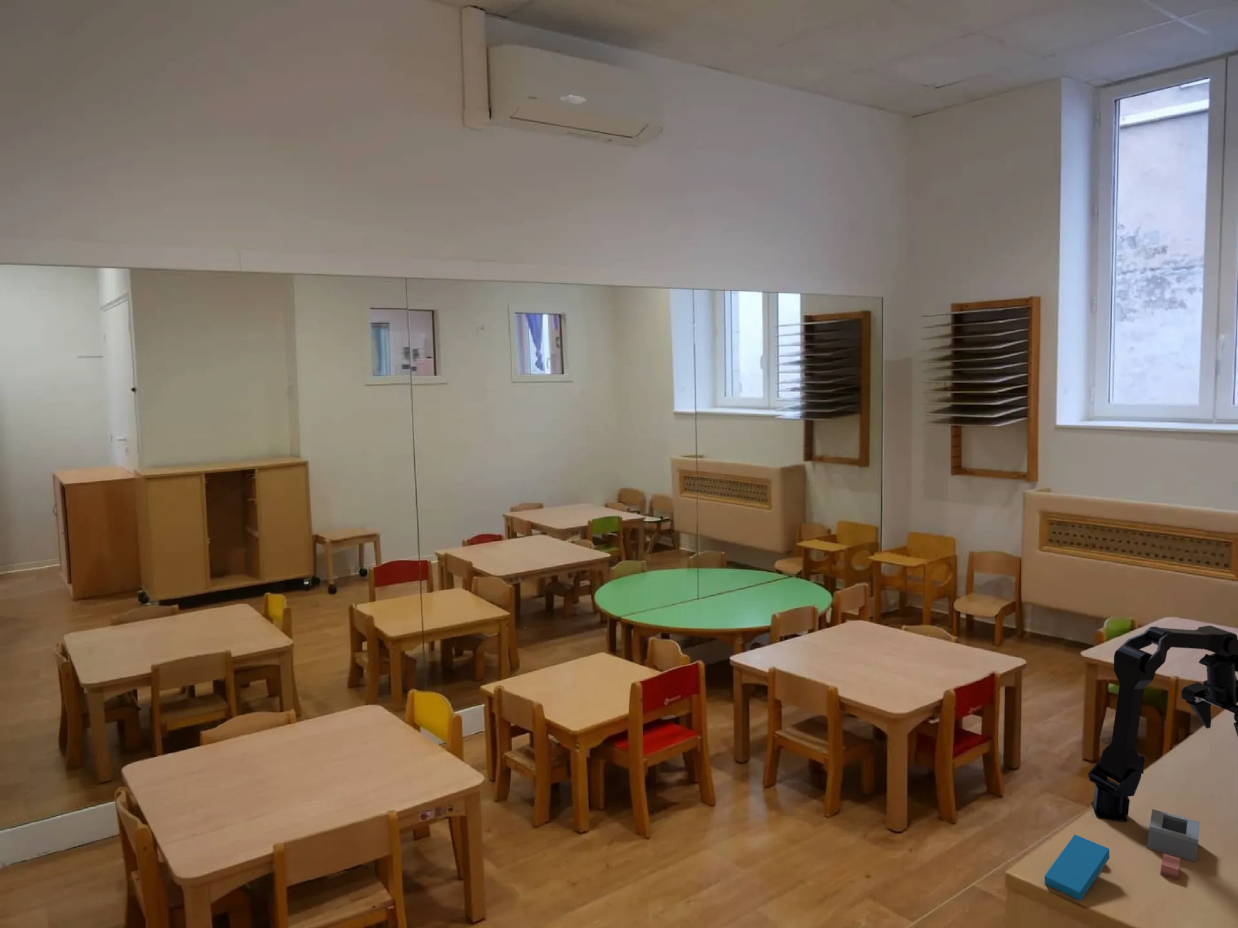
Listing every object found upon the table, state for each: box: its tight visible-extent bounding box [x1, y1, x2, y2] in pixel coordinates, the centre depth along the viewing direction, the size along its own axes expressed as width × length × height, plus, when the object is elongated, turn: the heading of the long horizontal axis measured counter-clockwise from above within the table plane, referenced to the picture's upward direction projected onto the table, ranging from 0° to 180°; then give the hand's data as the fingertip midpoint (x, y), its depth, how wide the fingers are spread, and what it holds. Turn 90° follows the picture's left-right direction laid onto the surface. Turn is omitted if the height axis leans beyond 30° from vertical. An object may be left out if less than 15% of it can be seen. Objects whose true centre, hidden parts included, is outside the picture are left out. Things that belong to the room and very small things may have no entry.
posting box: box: [1146, 808, 1201, 863], centre depth 194 cm, size 9×9×5 cm
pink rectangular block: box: [1159, 853, 1181, 881], centre depth 185 cm, size 5×3×2 cm, turn 144°
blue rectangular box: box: [1043, 834, 1110, 901], centre depth 183 cm, size 7×7×18 cm
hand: (1225, 735), depth 216 cm, fingers open, 9 cm apart
